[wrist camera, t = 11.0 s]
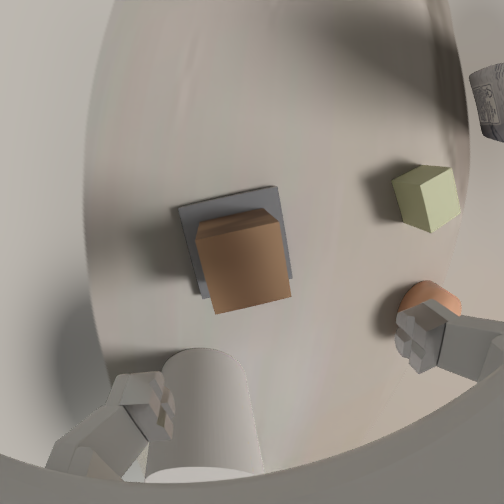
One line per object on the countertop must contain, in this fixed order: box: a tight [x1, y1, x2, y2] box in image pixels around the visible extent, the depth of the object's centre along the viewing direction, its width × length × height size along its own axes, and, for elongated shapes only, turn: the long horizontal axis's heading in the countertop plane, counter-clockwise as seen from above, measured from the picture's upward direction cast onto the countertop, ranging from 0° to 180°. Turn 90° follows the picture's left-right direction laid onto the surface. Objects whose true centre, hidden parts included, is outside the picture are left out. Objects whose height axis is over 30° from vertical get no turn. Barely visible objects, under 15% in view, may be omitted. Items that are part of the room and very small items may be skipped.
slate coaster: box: [178, 186, 292, 299], centre depth 21 cm, size 7×7×1 cm
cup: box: [145, 348, 265, 483], centre depth 19 cm, size 8×8×12 cm
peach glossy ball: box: [397, 280, 461, 316], centre depth 24 cm, size 6×6×4 cm
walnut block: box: [195, 208, 291, 315], centre depth 18 cm, size 4×4×5 cm
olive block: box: [391, 165, 461, 233], centre depth 20 cm, size 4×4×4 cm
